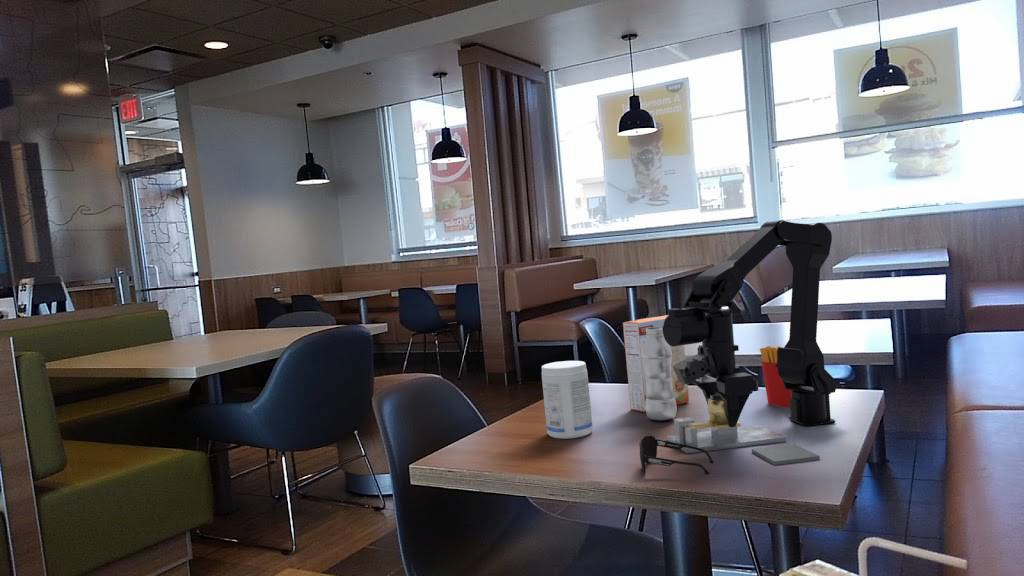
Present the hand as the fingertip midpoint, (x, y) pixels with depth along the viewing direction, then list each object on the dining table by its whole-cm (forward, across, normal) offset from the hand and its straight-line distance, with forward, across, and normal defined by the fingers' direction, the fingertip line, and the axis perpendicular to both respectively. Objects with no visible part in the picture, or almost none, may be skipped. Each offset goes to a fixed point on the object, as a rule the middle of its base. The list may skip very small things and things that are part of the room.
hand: (723, 422), depth 133 cm
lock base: (+3, 0, 0) cm, 3 cm away
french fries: (+4, -23, +24) cm, 33 cm away
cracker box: (+4, -34, -1) cm, 34 cm away
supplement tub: (+4, -18, -26) cm, 32 cm away
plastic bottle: (+4, -21, -5) cm, 22 cm away
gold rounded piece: (0, 0, -2) cm, 2 cm away
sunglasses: (+4, +12, -14) cm, 19 cm away
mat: (+3, +13, +5) cm, 14 cm away
